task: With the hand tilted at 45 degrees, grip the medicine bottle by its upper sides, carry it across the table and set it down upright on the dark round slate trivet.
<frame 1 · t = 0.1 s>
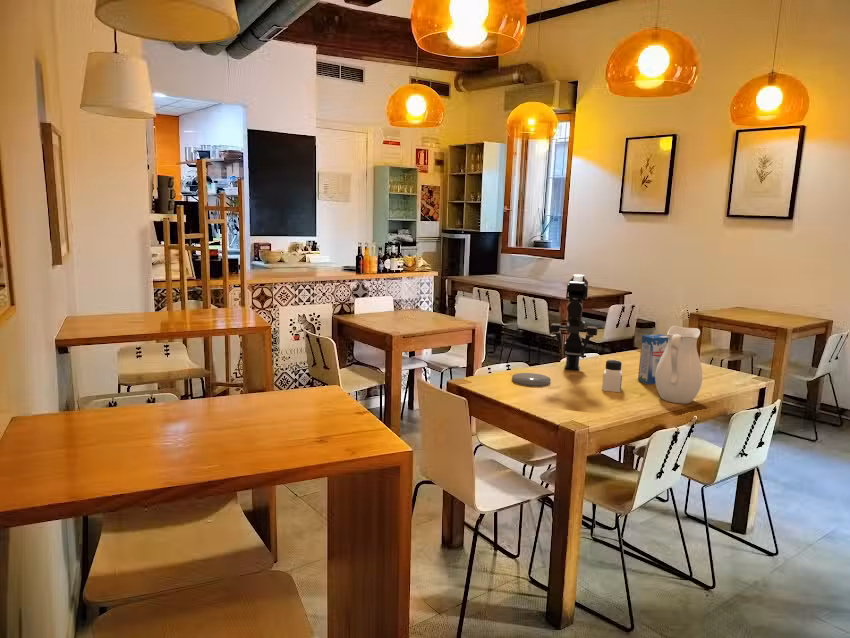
hand: (571, 349, 259), 15 cm above the table, tool pointing down, fingers open, 9 cm apart
milk carton: (651, 382, 270), on the table
slate trivet: (530, 381, 264), on the table
medicine bottle: (611, 389, 256), on the table
pitcher: (673, 402, 242), on the table
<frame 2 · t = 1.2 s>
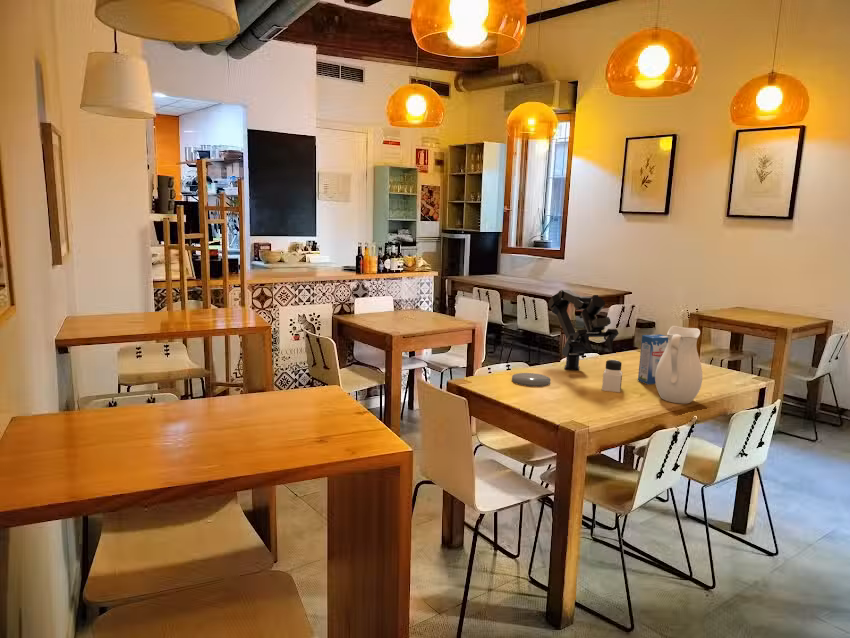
hand: (601, 351, 263), 13 cm above the table, tool tilted 45°, fingers open, 9 cm apart
nothing on the table moved.
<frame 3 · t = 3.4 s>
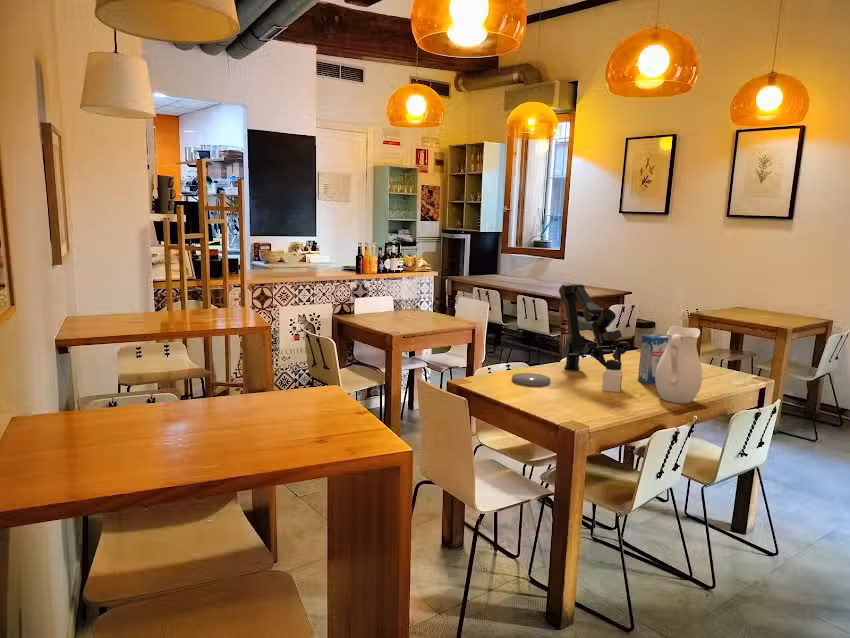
hand: (612, 366, 255), 10 cm above the table, tool tilted 45°, fingers closed on medicine bottle, 6 cm apart
medicine bottle: (611, 389, 256), on the table, touching gripper
everything else where it was.
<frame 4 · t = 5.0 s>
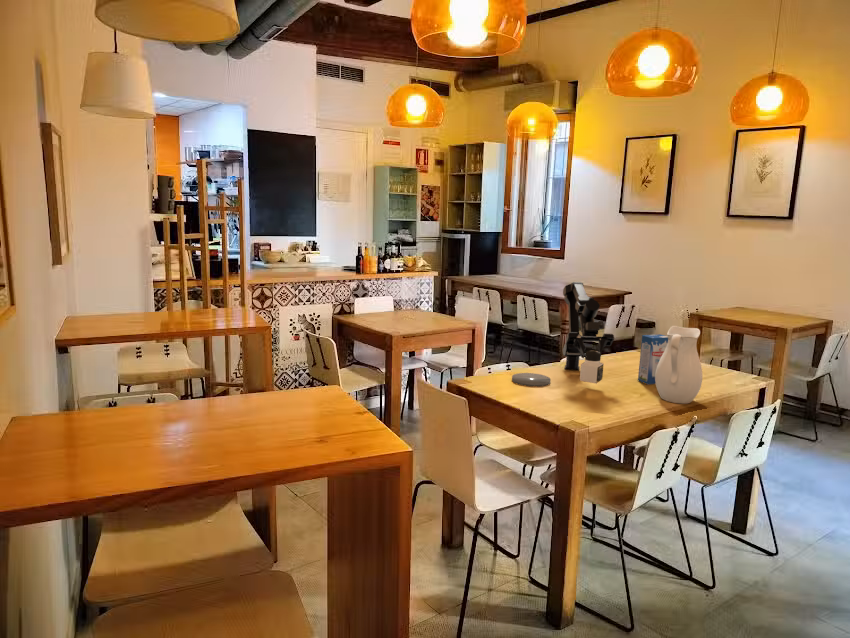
hand: (592, 356, 254), 13 cm above the table, tool tilted 45°, fingers closed on medicine bottle, 6 cm apart
medicine bottle: (591, 380, 256), point 3 cm above the table, touching gripper
everything else where it was.
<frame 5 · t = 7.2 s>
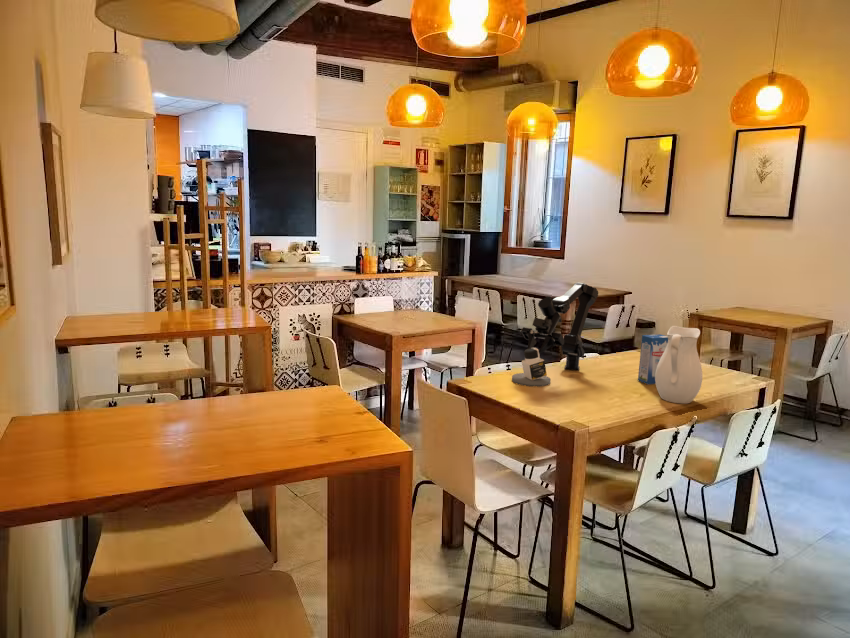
hand: (533, 351, 262), 13 cm above the table, tool tilted 45°, fingers closed on medicine bottle, 5 cm apart
medicine bottle: (535, 376, 263), point 2 cm above the table, touching gripper, slate trivet
everything else where it was.
when the fingers open (13 cm above the table, at t = 7.5 s): medicine bottle stays where it is, resting on slate trivet.
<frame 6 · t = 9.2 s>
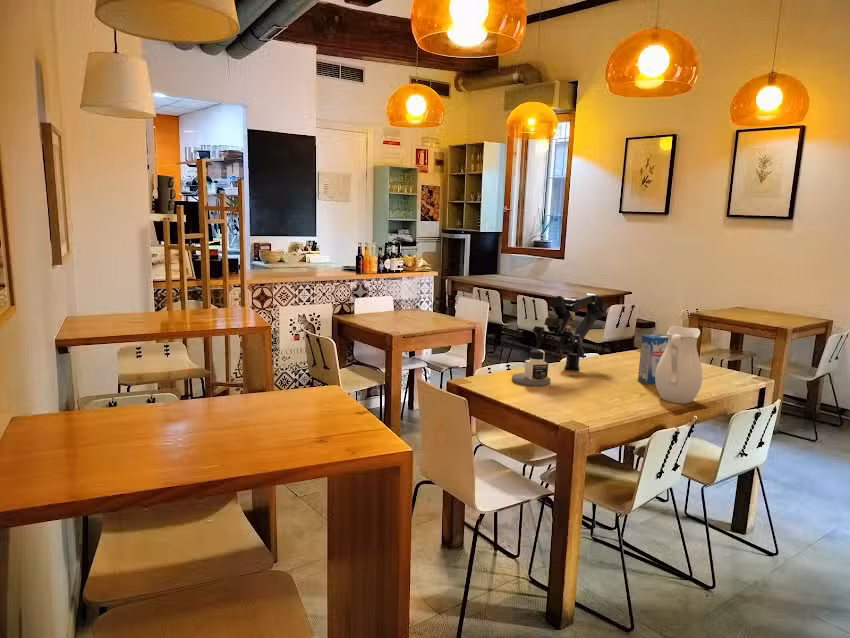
hand: (545, 350, 270), 12 cm above the table, tool tilted 45°, fingers open, 9 cm apart
medicine bottle: (535, 378, 263), point 1 cm above the table, touching slate trivet
everything else where it was.
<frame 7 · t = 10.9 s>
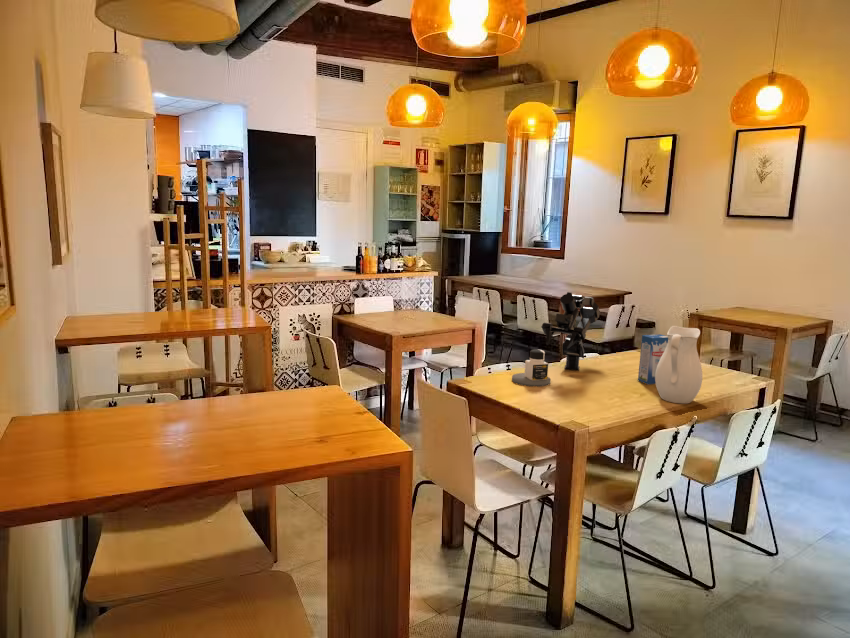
hand: (556, 346, 270), 14 cm above the table, tool tilted 45°, fingers open, 9 cm apart
nothing on the table moved.
at the end: medicine bottle 1.8 cm from the slate trivet (horizontally); medicine bottle tilted 0°; medicine bottle touching slate trivet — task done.
